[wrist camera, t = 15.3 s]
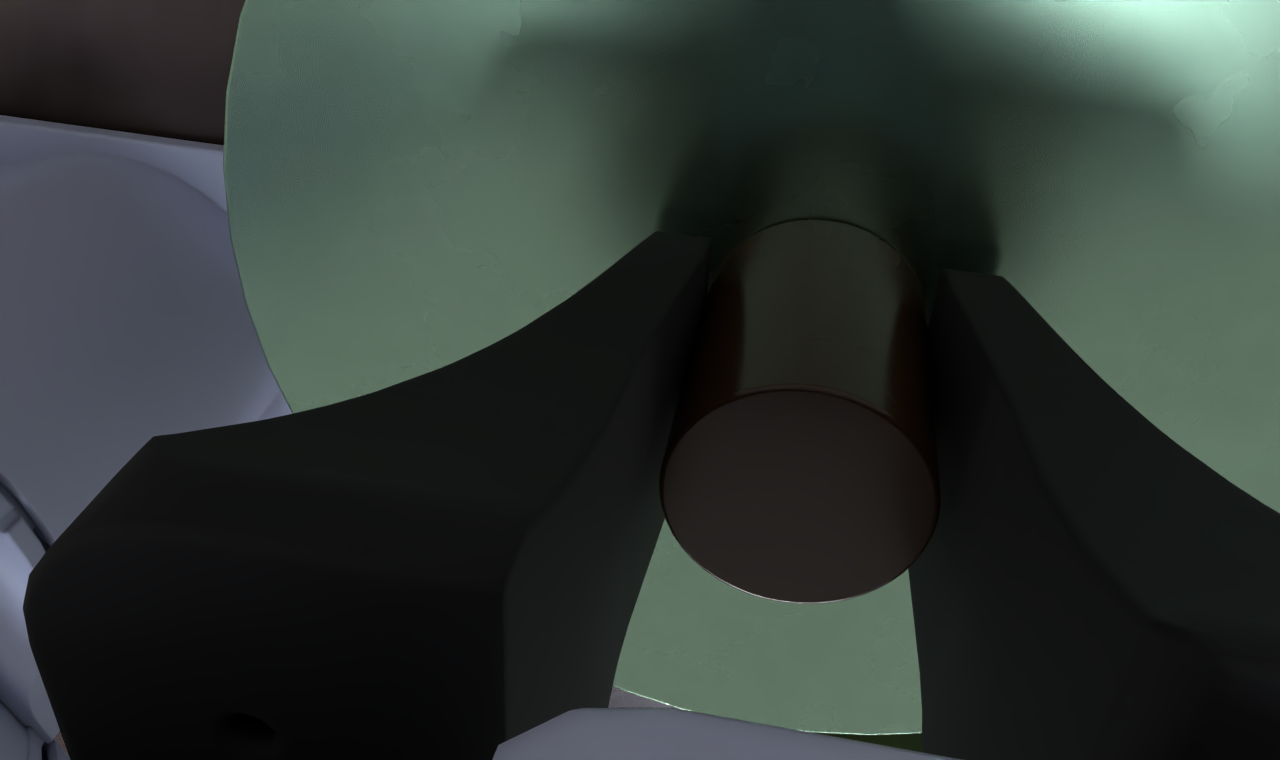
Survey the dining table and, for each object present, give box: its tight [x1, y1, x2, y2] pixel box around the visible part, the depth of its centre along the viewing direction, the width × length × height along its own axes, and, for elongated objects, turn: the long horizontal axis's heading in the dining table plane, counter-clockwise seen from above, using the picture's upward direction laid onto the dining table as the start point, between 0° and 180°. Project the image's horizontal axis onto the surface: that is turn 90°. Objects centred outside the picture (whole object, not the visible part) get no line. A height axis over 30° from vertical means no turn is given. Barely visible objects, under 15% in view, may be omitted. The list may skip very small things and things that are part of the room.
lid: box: [223, 0, 1280, 735], centre depth 11 cm, size 14×14×4 cm
